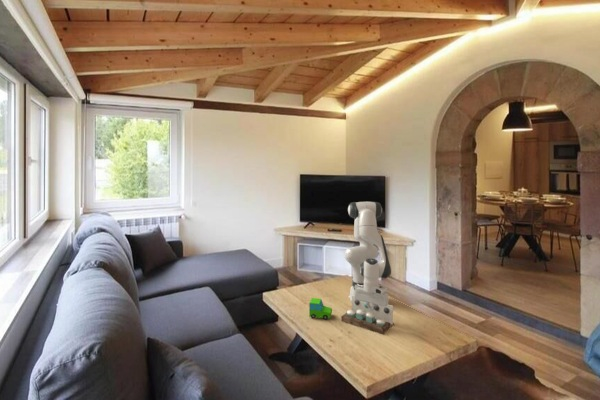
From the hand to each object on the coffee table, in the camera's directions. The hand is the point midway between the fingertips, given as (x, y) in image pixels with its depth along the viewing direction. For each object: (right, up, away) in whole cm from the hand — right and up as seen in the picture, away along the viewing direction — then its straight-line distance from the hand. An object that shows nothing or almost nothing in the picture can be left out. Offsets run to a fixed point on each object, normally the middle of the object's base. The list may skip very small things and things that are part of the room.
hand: (370, 309), depth 203 cm
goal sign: (+2, -9, +10) cm, 14 cm away
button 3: (0, -7, +1) cm, 7 cm away
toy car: (-29, -9, +14) cm, 33 cm away
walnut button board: (-3, -10, +4) cm, 11 cm away
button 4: (+5, -9, -2) cm, 11 cm away
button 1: (-10, -8, +9) cm, 16 cm away
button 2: (-5, -7, +5) cm, 10 cm away
